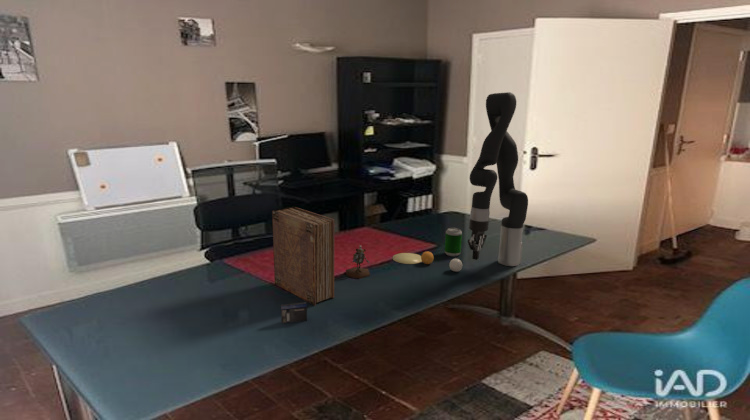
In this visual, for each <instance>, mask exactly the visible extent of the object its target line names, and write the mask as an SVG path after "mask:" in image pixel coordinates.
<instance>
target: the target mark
mask: <svg viewBox="0 0 750 420" xmlns="http://www.w3.org/2000/svg"><path fill="white" fill-rule="evenodd" d="M392 260H393V261H394V262H396V263H399V264H405V265H415V264H420V263H423V262H422V260H421V255H420V254H417V253H413V252H401V253H397V254H394V255H393V256H392Z"/></svg>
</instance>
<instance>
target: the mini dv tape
mask: <svg viewBox="0 0 750 420" xmlns="http://www.w3.org/2000/svg"><path fill="white" fill-rule="evenodd" d="M307 305H308V304H307V302H306V301H304V302H296V303H295V302H294V303H284V304H281V305H280V313H281V314H280V317H281V319H280V321H281V324H288V323H290V324H291V323H297V322H307V321H308V306H307Z"/></svg>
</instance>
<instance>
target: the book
mask: <svg viewBox="0 0 750 420" xmlns="http://www.w3.org/2000/svg"><path fill="white" fill-rule="evenodd" d="M271 215H272V217H271V218H272V240H273V241H272V243H273V244H272V245H273V246H272V248H273V249H272V250H273V270H274V271H273V272H274V273H273V274H274V285H276V286H277V287H279V288H280V289H283V290H285V291H286V292H288V293H290V294H292V295H294V296H296V297H298V298H299V299H301V300H303V301H304V302H306V303H309V304H310V305H312V306H314V307H315V306H316V305H317V303H320V302H323V301H326V300H328V299H334V298H335V219H334V218H331V217H328V216H325V215H322V214H318V213H315V212H312V211H309V210H306V209H302V208H299V207H296V206H288V207H283V208H278V209H277V208H276V209H272V211H271Z"/></svg>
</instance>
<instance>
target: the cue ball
mask: <svg viewBox="0 0 750 420" xmlns="http://www.w3.org/2000/svg"><path fill="white" fill-rule="evenodd" d="M449 261H450V262H449V264H448V265H449V269H450V270H451V271H453V272H456V273H457V272H458V273H459V272H460V271H461V270H462V269H463V263H462V262H463V261H462V260H460V259H459V258H453V259H451V260H449Z"/></svg>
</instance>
